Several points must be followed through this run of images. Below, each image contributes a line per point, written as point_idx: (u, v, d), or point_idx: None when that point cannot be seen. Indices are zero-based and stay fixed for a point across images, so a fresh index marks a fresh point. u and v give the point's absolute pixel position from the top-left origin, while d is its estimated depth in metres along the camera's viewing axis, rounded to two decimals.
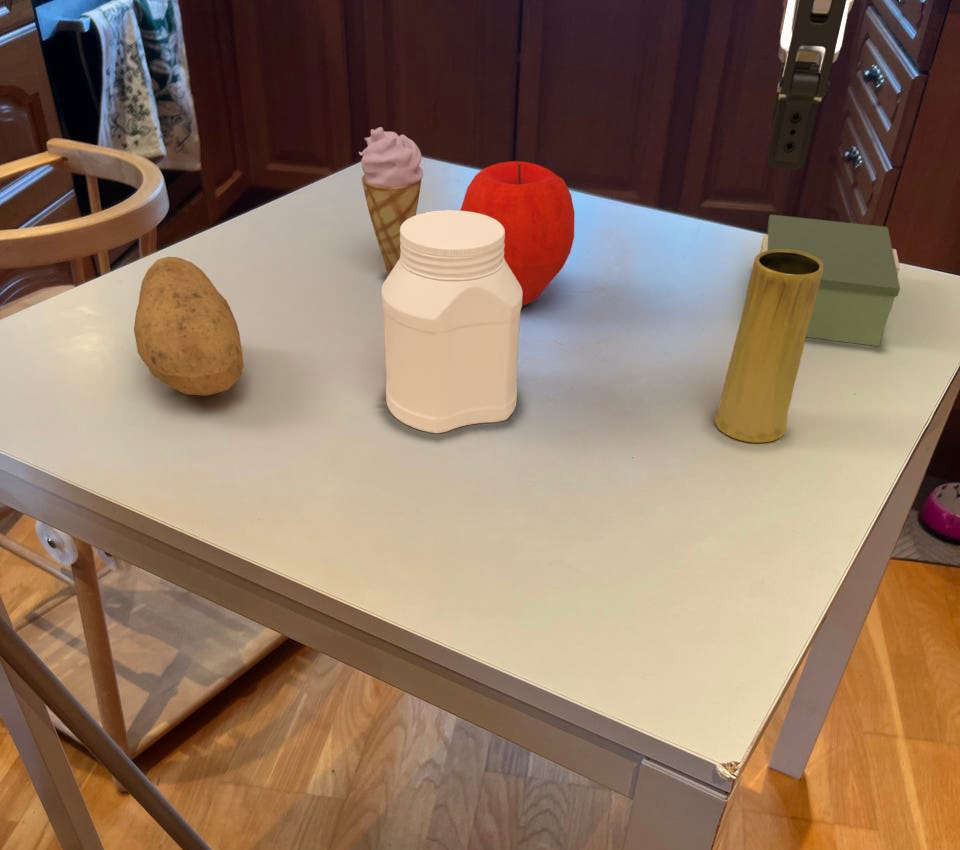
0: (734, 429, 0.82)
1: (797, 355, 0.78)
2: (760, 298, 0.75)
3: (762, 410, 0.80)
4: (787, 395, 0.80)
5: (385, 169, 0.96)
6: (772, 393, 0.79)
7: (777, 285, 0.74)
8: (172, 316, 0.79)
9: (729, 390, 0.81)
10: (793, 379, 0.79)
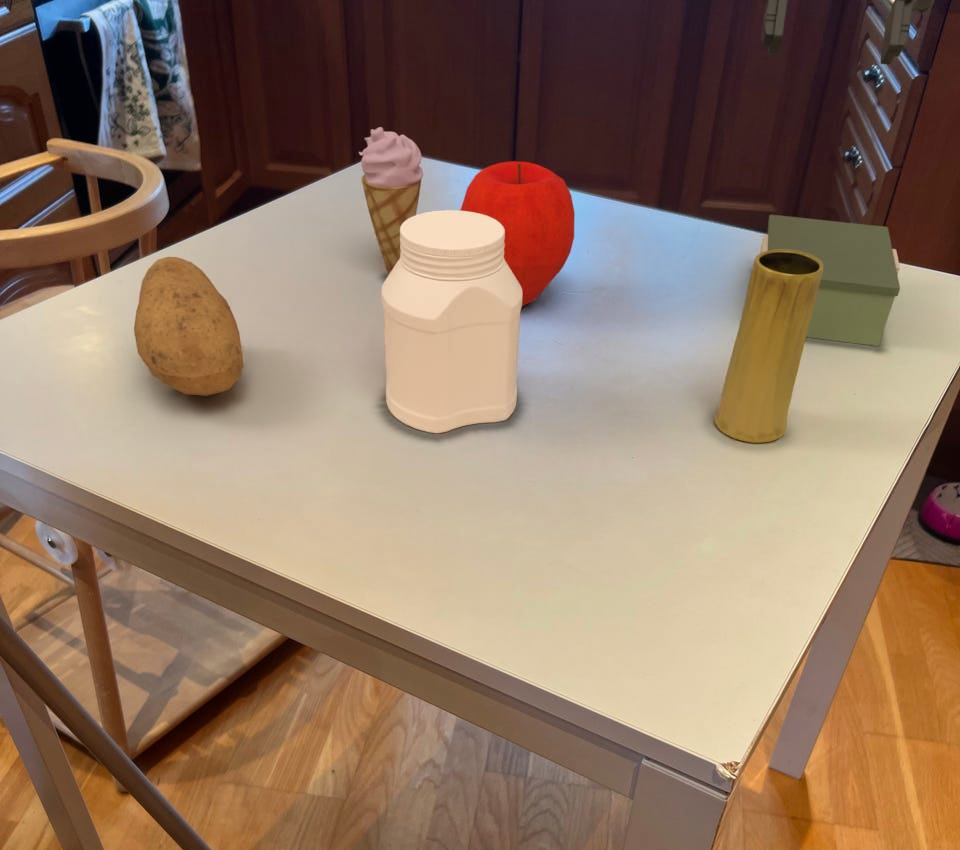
0: (734, 429, 0.82)
1: (797, 355, 0.78)
2: (760, 298, 0.75)
3: (762, 410, 0.80)
4: (787, 395, 0.80)
5: (385, 169, 0.96)
6: (772, 393, 0.79)
7: (777, 285, 0.74)
8: (172, 317, 0.79)
9: (729, 390, 0.81)
10: (793, 379, 0.79)
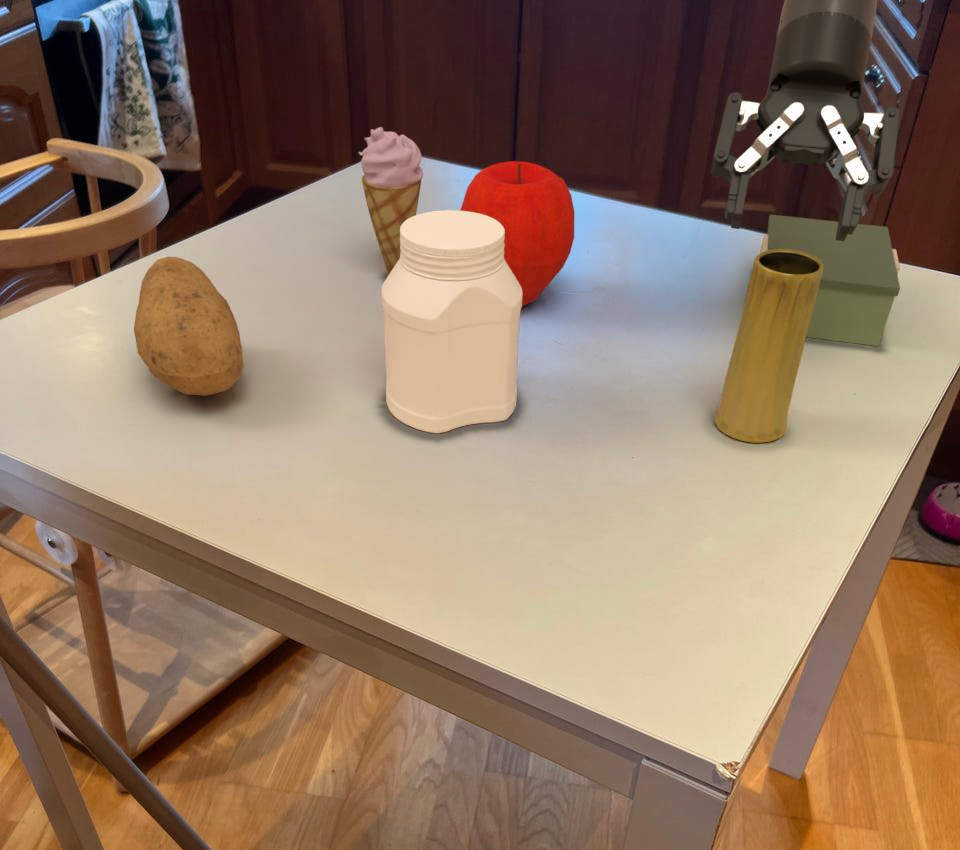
0: (734, 429, 0.82)
1: (797, 355, 0.78)
2: (760, 298, 0.75)
3: (762, 410, 0.80)
4: (787, 395, 0.80)
5: (385, 169, 0.96)
6: (772, 393, 0.79)
7: (777, 285, 0.74)
8: (172, 316, 0.79)
9: (729, 390, 0.81)
10: (793, 379, 0.79)
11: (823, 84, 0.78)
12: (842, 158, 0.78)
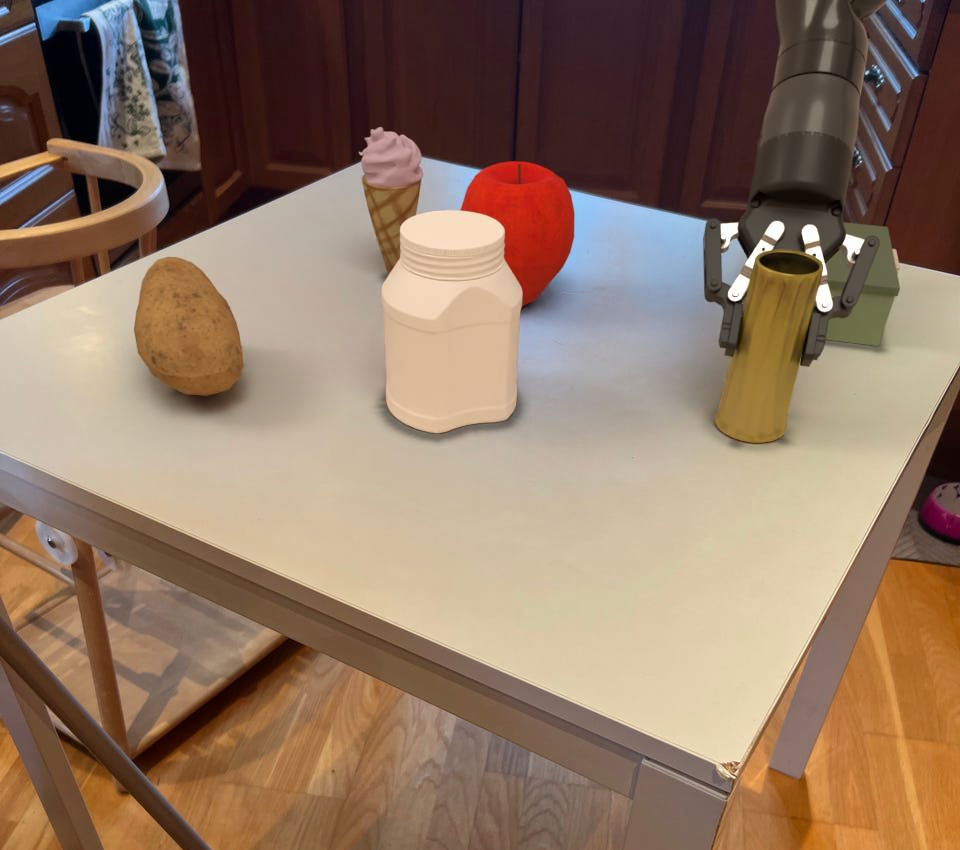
0: (734, 429, 0.82)
1: (797, 355, 0.78)
2: (760, 298, 0.75)
3: (762, 410, 0.80)
4: (787, 395, 0.80)
5: (385, 169, 0.96)
6: (772, 393, 0.79)
7: (777, 285, 0.74)
8: (172, 316, 0.79)
9: (729, 390, 0.81)
10: (793, 379, 0.79)
11: (804, 202, 0.77)
12: None
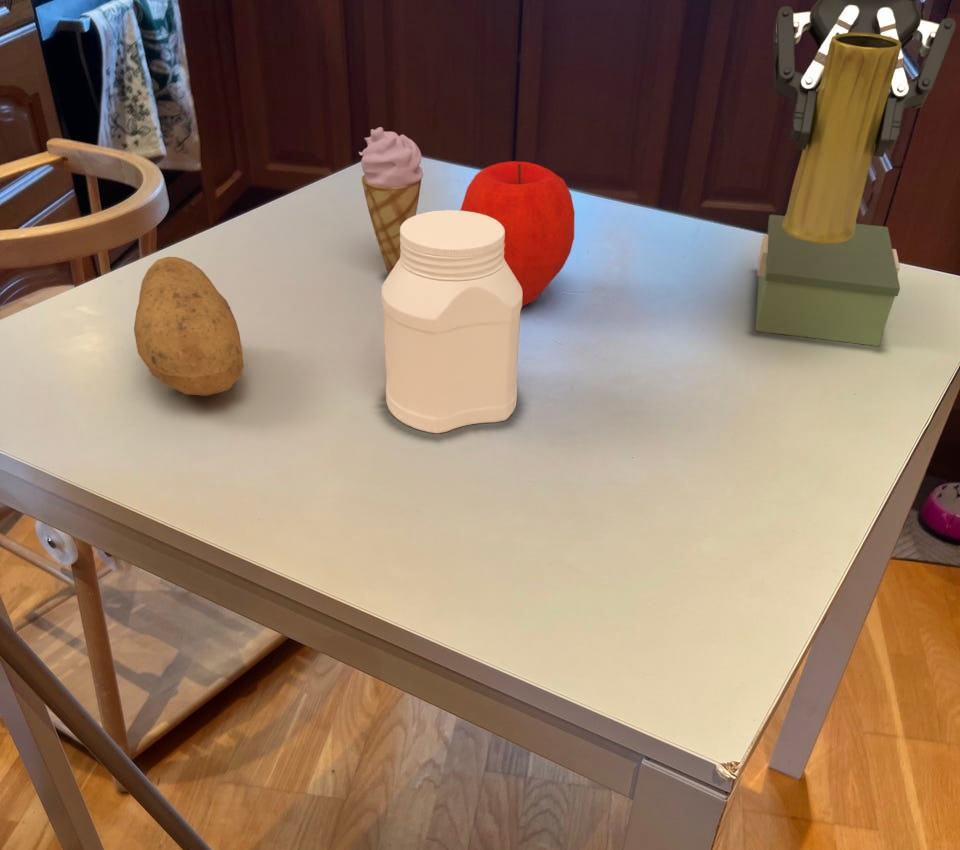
0: (804, 230, 0.81)
1: (871, 144, 0.77)
2: (836, 78, 0.74)
3: (834, 206, 0.79)
4: (859, 190, 0.79)
5: (385, 169, 0.96)
6: (845, 186, 0.78)
7: (855, 62, 0.73)
8: (172, 317, 0.79)
9: (799, 188, 0.80)
10: (866, 172, 0.78)
11: None
12: None
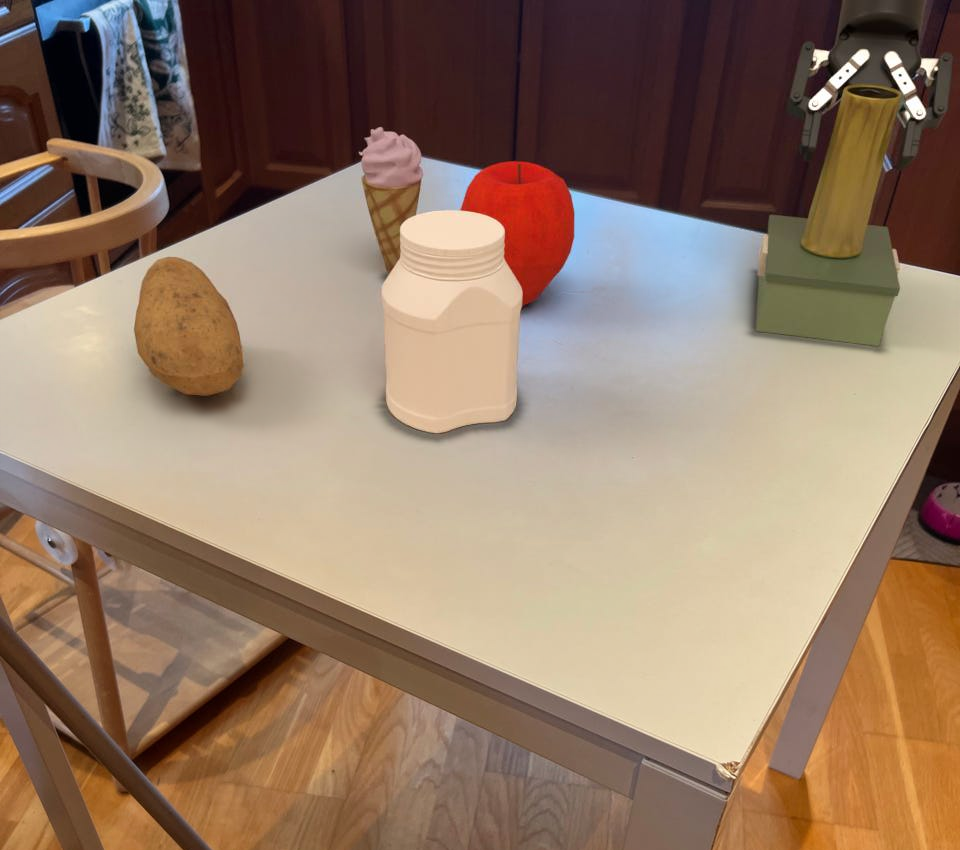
0: (819, 247, 0.96)
1: (876, 176, 0.92)
2: (847, 123, 0.89)
3: (845, 227, 0.94)
4: (866, 214, 0.94)
5: (385, 169, 0.96)
6: (854, 210, 0.93)
7: (863, 109, 0.88)
8: (172, 316, 0.79)
9: (816, 212, 0.95)
10: (871, 199, 0.94)
11: (886, 33, 0.90)
12: (903, 97, 0.90)
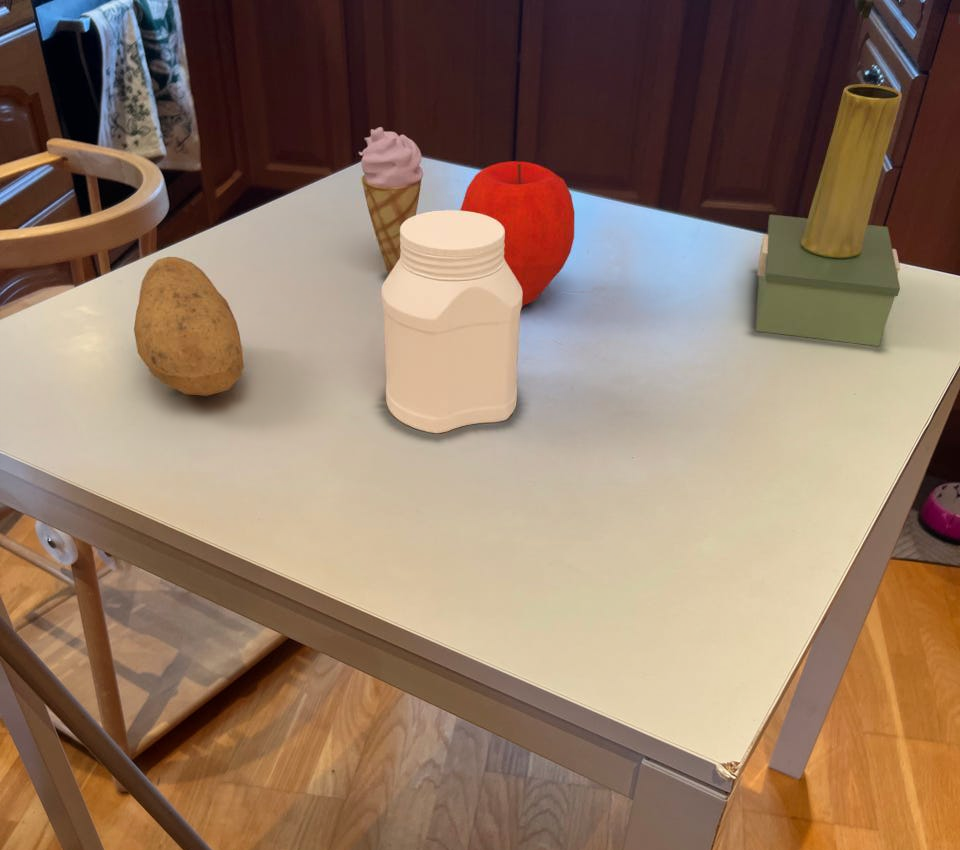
0: (819, 247, 0.96)
1: (876, 176, 0.92)
2: (847, 123, 0.89)
3: (845, 227, 0.94)
4: (866, 214, 0.94)
5: (385, 169, 0.96)
6: (854, 210, 0.93)
7: (863, 109, 0.88)
8: (172, 316, 0.79)
9: (816, 212, 0.95)
10: (871, 199, 0.94)
11: None
12: None
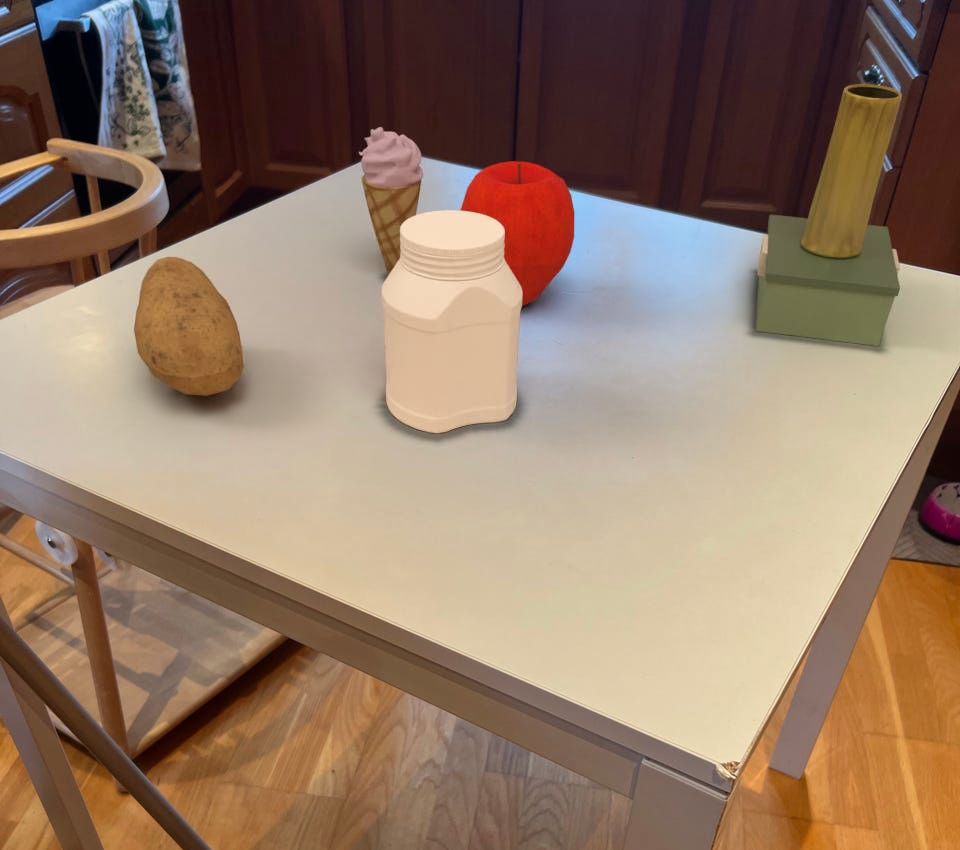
0: (819, 247, 0.96)
1: (876, 176, 0.92)
2: (847, 123, 0.89)
3: (845, 227, 0.94)
4: (866, 214, 0.94)
5: (385, 169, 0.96)
6: (854, 210, 0.93)
7: (863, 109, 0.88)
8: (172, 316, 0.79)
9: (816, 212, 0.95)
10: (871, 199, 0.94)
11: None
12: None
